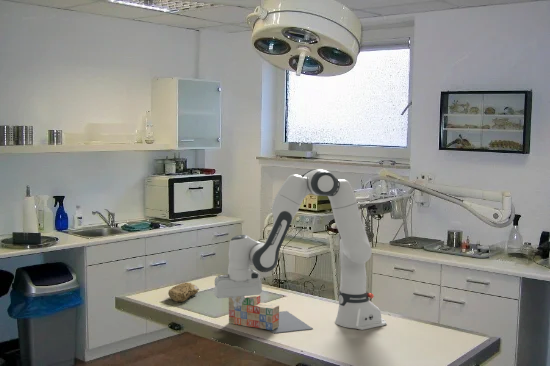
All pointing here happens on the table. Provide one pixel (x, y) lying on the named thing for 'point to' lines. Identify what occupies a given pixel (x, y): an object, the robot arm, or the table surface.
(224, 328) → the table surface
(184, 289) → the brown rock
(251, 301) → the stack of blocks
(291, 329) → the mat
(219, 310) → the table surface
